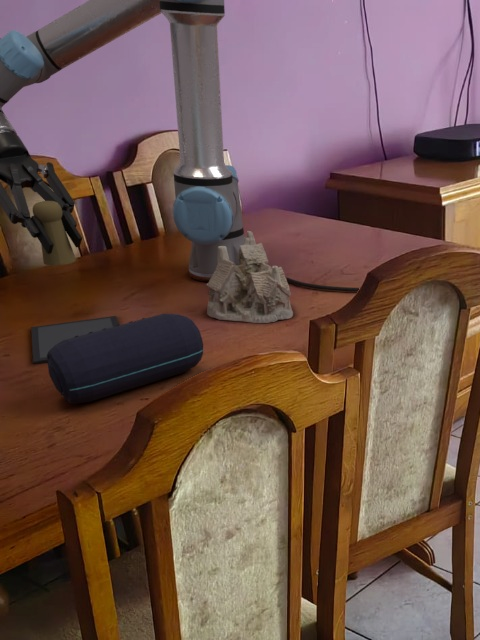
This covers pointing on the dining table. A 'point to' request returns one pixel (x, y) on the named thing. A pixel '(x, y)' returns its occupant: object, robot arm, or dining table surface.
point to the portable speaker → (124, 357)
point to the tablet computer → (64, 334)
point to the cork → (54, 233)
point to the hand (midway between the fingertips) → (65, 245)
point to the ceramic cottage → (248, 287)
